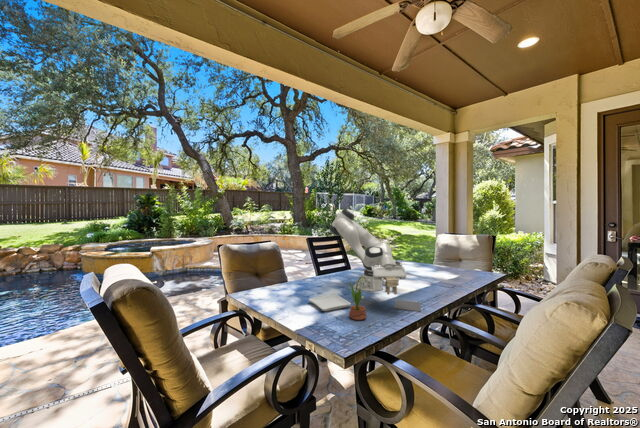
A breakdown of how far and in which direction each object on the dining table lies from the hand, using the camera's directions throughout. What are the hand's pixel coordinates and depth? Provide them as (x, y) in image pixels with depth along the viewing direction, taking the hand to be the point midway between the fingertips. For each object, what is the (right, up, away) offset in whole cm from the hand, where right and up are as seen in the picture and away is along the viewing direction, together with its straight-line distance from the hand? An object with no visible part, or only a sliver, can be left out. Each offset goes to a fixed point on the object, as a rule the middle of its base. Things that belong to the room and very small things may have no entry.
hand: (391, 285), depth 170 cm
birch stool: (0, -5, +1) cm, 5 cm away
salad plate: (-37, -17, +13) cm, 43 cm away
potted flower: (-20, -17, -7) cm, 28 cm away
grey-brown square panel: (+14, -17, +13) cm, 26 cm away
